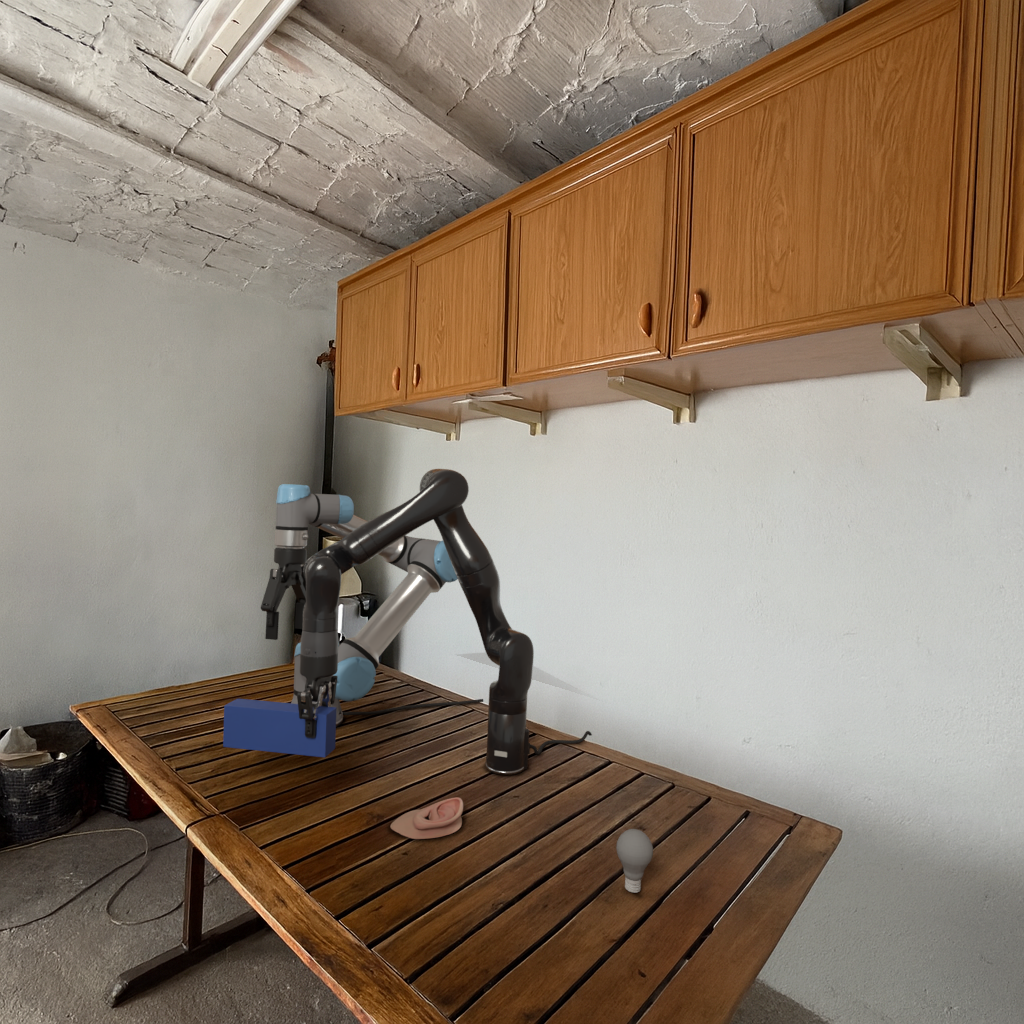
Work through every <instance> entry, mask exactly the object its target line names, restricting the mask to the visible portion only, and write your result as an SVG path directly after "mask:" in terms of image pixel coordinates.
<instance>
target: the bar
mask: <svg viewBox="0 0 1024 1024" xmlns="http://www.w3.org/2000/svg"><path fill="white" fill-rule="evenodd" d="M223 709H224V710H223V735H222V737H223V738H222V739H223V740H222V747H223V748H231V749H239V750H240V749H241V750H248V751H249V750H250V751H257V752H258V751H260V752H268V753H269V752H270V753H279V754H289V755H298V756H299V755H300V756H307V757H317V758H326V757H328V756H329V755H330V754H331V753H332V752H333V751H334V750H335V749H336V738H337V727H336V707H325V706H321V708H319V710H318V715H317V735H316V737H314V738H307V737H305V719H300V718H299V710H298V704H292V703H291V702H280V701H270V700H257V699H247V698H246V699H245V698H236V699H233V700H232V701H230V702H228V703H226V704H225V705H224V706H223ZM304 711H305V709H304ZM313 712H314V708H313Z"/></svg>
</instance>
